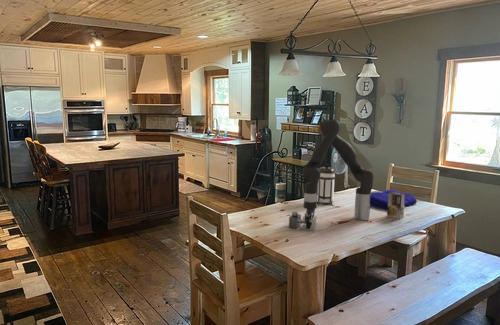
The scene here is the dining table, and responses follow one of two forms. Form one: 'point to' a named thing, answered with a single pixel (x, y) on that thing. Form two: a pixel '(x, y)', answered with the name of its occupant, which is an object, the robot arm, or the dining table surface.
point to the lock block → (312, 226)
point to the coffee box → (396, 205)
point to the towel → (382, 199)
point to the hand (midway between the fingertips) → (309, 227)
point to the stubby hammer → (295, 220)
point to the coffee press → (326, 185)
